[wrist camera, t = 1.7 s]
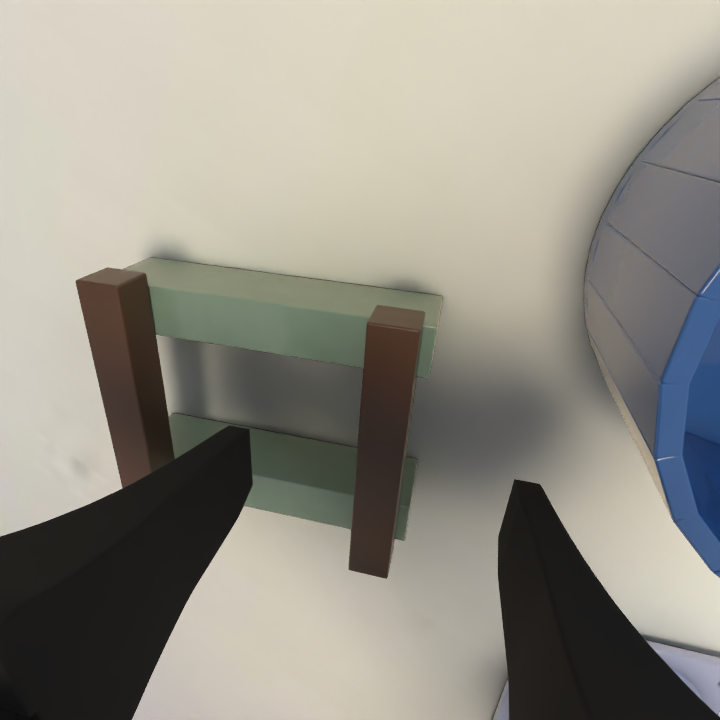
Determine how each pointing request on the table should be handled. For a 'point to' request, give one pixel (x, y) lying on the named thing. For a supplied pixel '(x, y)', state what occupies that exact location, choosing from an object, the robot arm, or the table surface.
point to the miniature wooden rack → (291, 338)
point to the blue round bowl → (667, 314)
